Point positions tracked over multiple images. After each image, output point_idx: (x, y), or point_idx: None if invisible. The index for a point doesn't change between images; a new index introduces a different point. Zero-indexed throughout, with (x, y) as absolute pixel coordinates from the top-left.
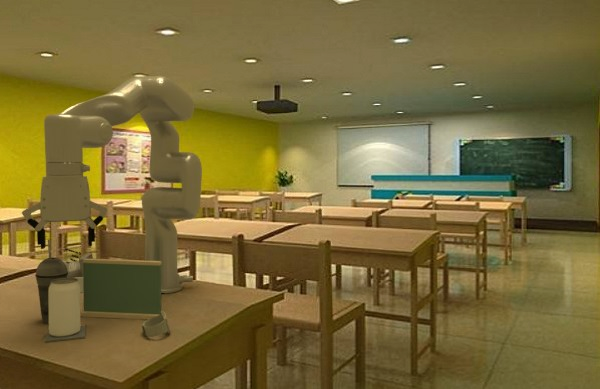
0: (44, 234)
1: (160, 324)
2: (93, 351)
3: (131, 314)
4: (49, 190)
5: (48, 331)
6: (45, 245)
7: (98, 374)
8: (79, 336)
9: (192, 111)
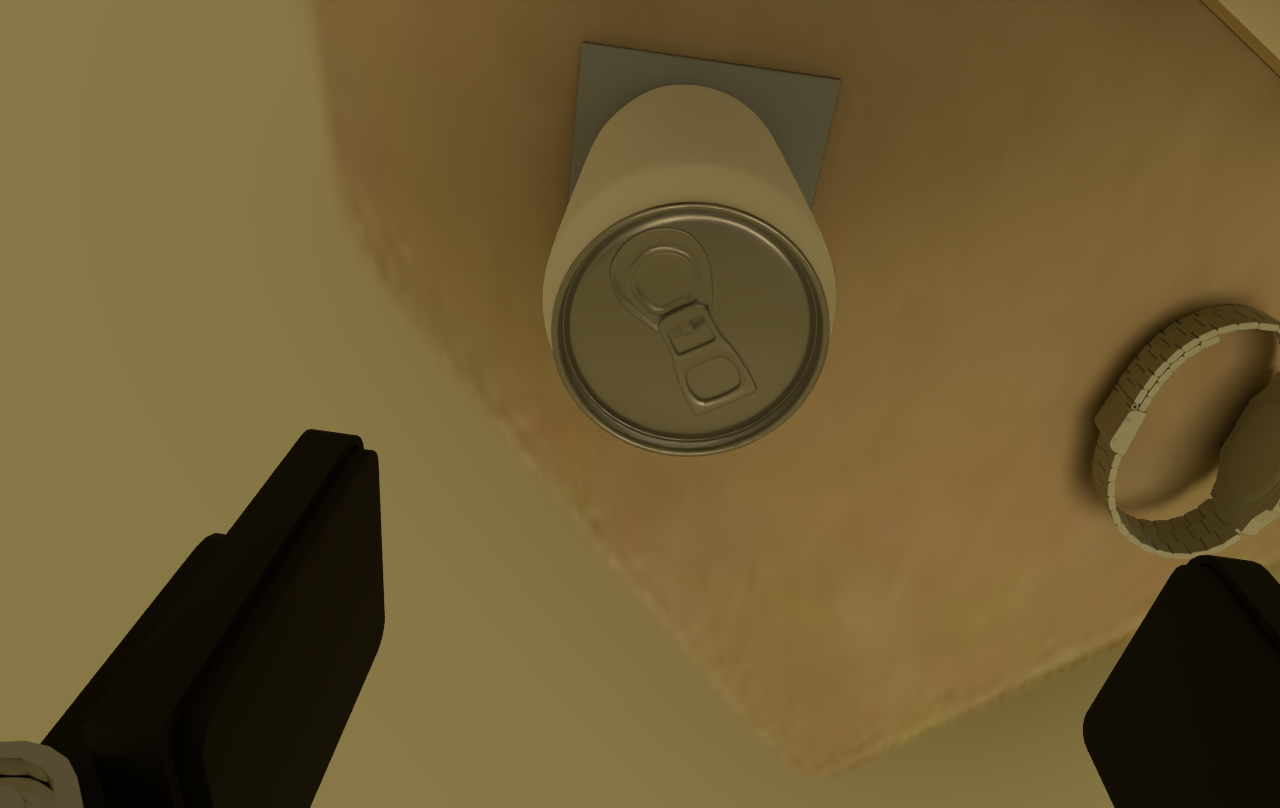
0: (275, 789)
1: (1182, 555)
2: (780, 516)
3: (1242, 2)
4: None
5: (583, 104)
6: (372, 495)
7: (745, 722)
8: None
9: None
